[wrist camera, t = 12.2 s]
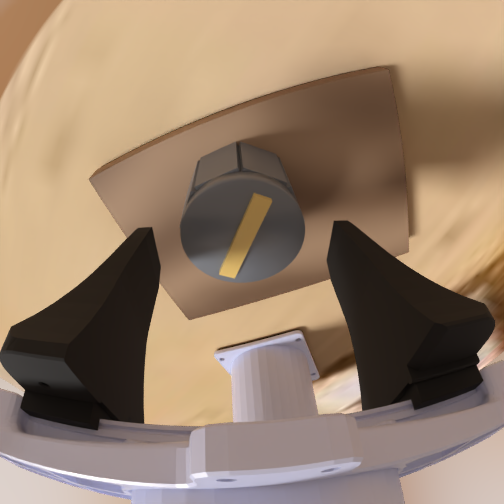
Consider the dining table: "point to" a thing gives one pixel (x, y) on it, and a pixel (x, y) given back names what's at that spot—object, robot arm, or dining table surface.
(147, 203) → the stud board
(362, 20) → the dining table surface
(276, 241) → the grey control knob
